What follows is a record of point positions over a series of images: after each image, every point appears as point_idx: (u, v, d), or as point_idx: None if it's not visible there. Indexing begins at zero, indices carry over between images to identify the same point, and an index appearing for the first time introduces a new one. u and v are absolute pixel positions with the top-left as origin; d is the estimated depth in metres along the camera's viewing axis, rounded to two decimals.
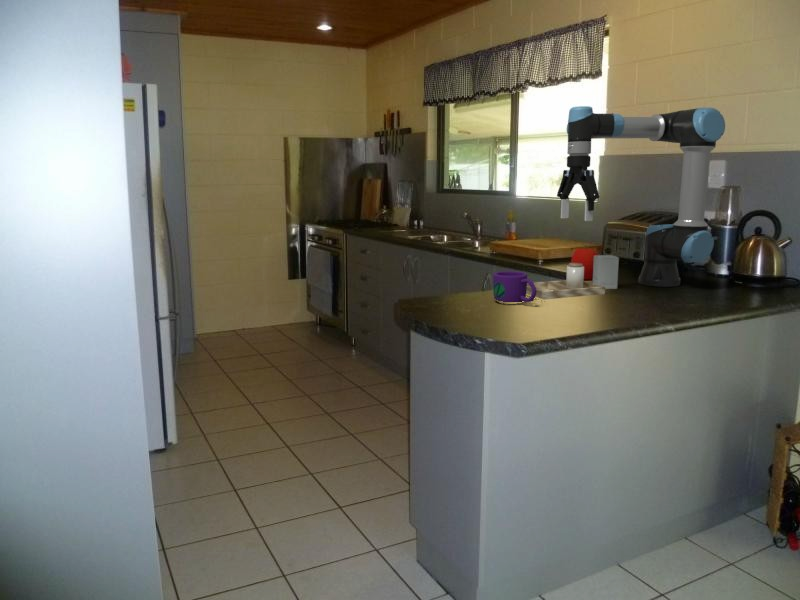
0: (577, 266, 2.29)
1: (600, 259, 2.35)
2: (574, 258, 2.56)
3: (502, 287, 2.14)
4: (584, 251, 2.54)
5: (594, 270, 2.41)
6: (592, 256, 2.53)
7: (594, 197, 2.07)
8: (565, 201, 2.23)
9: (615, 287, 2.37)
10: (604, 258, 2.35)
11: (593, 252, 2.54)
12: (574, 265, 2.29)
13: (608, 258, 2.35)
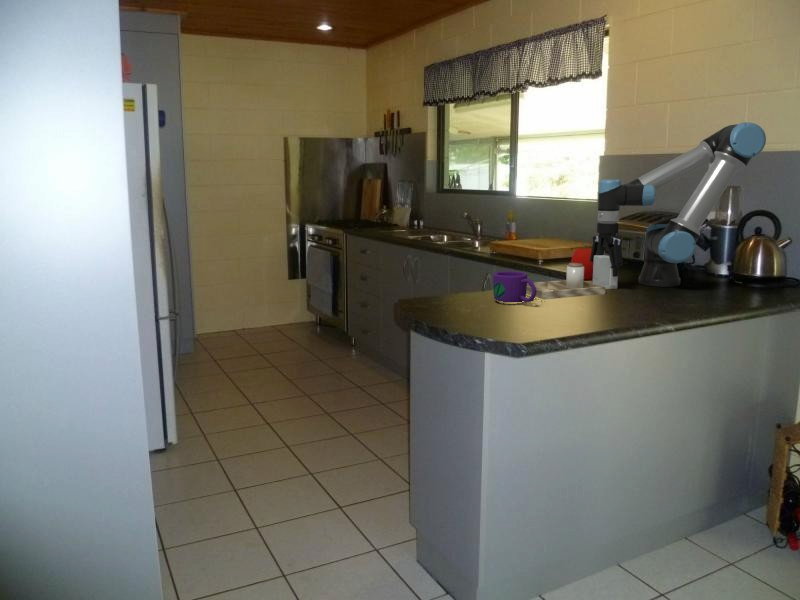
0: (577, 266, 2.29)
1: (600, 259, 2.35)
2: (574, 258, 2.56)
3: (502, 287, 2.14)
4: (584, 251, 2.54)
5: (594, 270, 2.41)
6: None
7: (618, 265, 2.31)
8: None
9: (615, 287, 2.37)
10: (604, 258, 2.35)
11: None
12: (574, 265, 2.29)
13: (608, 258, 2.35)
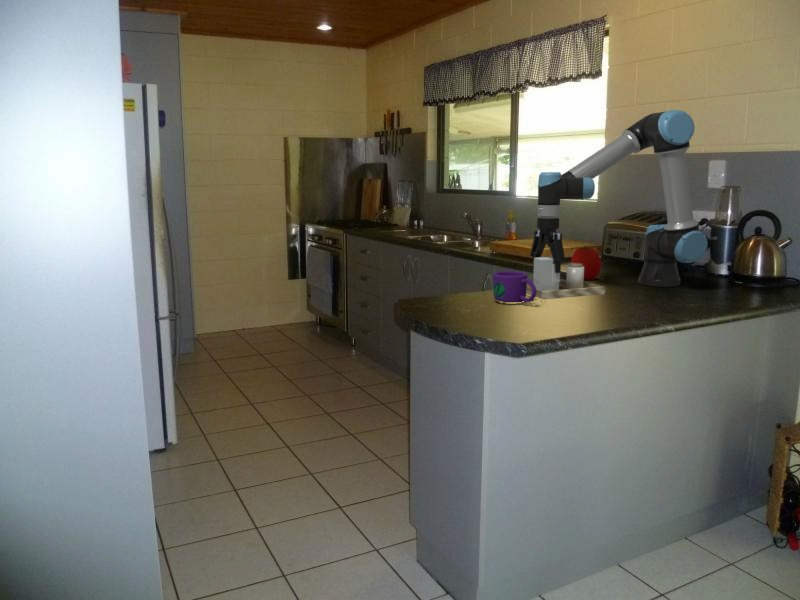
0: (577, 266, 2.29)
1: (541, 261, 2.23)
2: (574, 258, 2.56)
3: (502, 287, 2.14)
4: (584, 251, 2.54)
5: (535, 273, 2.29)
6: (592, 256, 2.53)
7: (560, 261, 2.18)
8: None
9: None
10: (545, 260, 2.24)
11: (593, 252, 2.54)
12: (574, 265, 2.29)
13: (549, 260, 2.24)
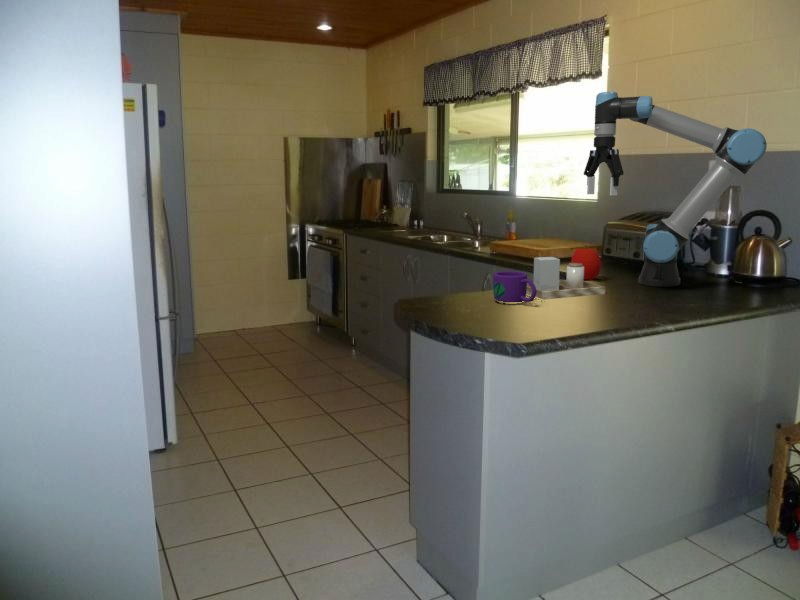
0: (577, 266, 2.29)
1: (541, 261, 2.23)
2: (574, 258, 2.56)
3: (502, 287, 2.14)
4: (584, 251, 2.54)
5: (535, 273, 2.29)
6: (592, 256, 2.53)
7: (619, 173, 2.30)
8: (591, 178, 2.46)
9: None
10: (545, 260, 2.24)
11: (593, 252, 2.54)
12: (574, 265, 2.29)
13: (549, 260, 2.24)
